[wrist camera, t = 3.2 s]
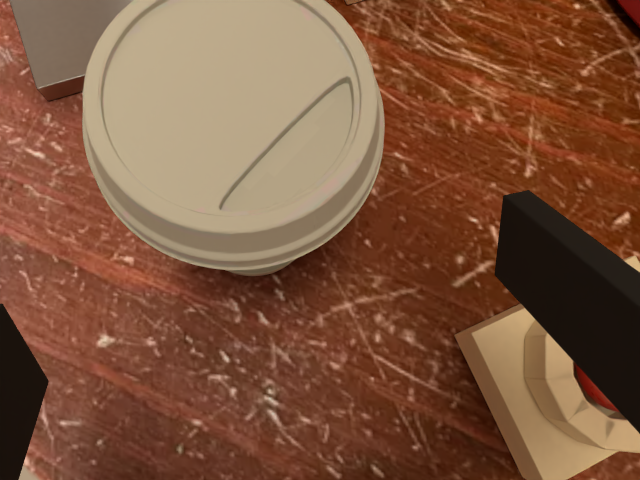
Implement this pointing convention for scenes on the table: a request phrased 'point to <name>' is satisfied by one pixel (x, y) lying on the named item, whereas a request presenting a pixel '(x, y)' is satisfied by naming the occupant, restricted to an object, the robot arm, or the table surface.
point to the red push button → (594, 391)
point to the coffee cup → (233, 128)
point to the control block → (541, 397)
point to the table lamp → (631, 9)
